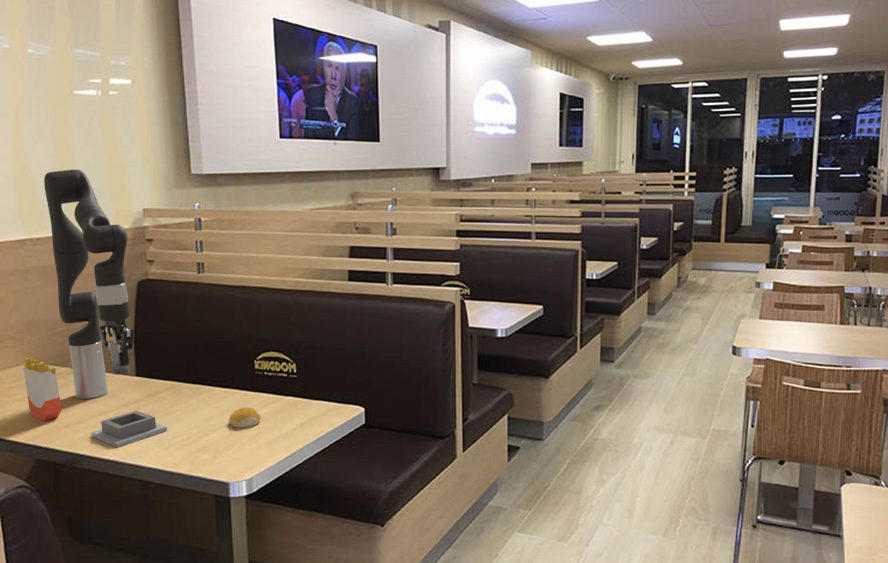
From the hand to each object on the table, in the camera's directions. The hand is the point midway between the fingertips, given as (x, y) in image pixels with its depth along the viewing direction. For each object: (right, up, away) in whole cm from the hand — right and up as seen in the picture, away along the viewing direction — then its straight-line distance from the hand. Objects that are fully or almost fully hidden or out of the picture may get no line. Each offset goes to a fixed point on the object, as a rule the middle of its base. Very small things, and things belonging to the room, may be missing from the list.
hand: (120, 363), depth 192 cm
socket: (+1, -19, +3) cm, 20 cm away
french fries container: (-31, -18, +20) cm, 41 cm away
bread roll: (+31, -18, +8) cm, 37 cm away
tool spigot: (0, -2, 0) cm, 2 cm away
